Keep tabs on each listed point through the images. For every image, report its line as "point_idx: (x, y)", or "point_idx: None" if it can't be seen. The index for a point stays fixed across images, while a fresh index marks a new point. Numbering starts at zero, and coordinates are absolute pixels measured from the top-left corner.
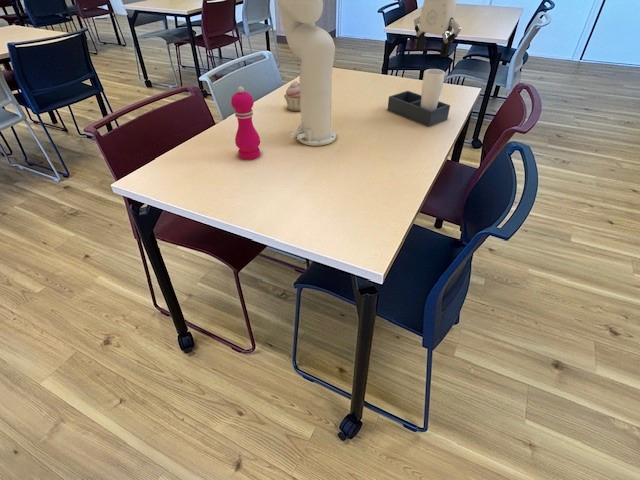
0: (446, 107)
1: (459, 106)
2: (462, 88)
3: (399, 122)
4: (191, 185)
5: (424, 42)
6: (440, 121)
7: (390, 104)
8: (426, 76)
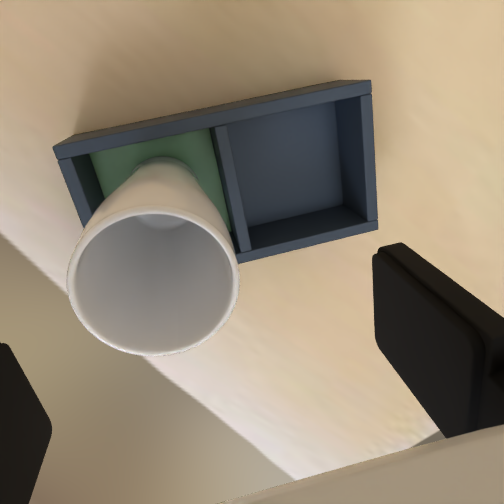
0: None
1: (219, 379)
2: None
3: (181, 32)
4: None
5: (414, 389)
6: None
7: (336, 83)
8: (147, 198)
